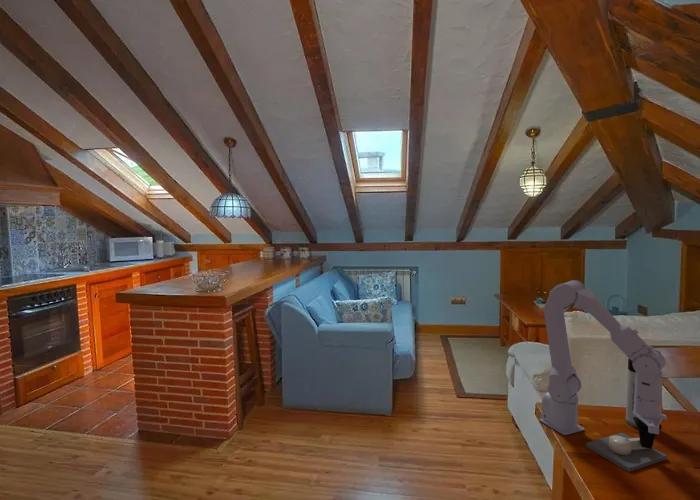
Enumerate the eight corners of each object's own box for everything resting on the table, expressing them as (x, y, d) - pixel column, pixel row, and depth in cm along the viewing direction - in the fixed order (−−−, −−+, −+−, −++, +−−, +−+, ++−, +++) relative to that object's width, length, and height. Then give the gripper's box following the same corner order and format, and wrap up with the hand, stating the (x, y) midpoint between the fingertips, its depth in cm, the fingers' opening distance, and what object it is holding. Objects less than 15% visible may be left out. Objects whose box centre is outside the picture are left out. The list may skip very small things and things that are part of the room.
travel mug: (642, 418, 126) (644, 355, 124) (656, 429, 119) (658, 363, 117) (620, 417, 126) (622, 355, 125) (633, 428, 120) (635, 363, 118)
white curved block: (618, 455, 105) (618, 446, 104) (604, 445, 109) (604, 436, 109) (659, 452, 106) (659, 443, 105) (643, 441, 111) (643, 432, 110)
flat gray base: (585, 446, 111) (585, 443, 111) (621, 435, 116) (621, 432, 116) (628, 472, 100) (628, 468, 100) (666, 459, 105) (666, 455, 105)
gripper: (675, 411, 97) (673, 466, 98) (659, 388, 110) (657, 436, 111) (639, 406, 100) (638, 459, 101) (628, 384, 113) (626, 431, 114)
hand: (646, 446), depth 106 cm, fingers closed, pressing on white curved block
